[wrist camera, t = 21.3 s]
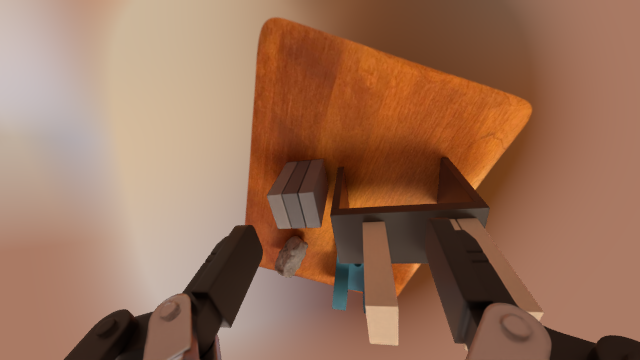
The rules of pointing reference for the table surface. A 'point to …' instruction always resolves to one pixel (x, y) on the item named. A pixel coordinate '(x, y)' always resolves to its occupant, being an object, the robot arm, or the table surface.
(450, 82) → the table surface
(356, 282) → the bracket
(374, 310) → the beige rectangular block
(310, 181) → the grey books
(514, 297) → the white books
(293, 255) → the stone
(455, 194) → the shelf
